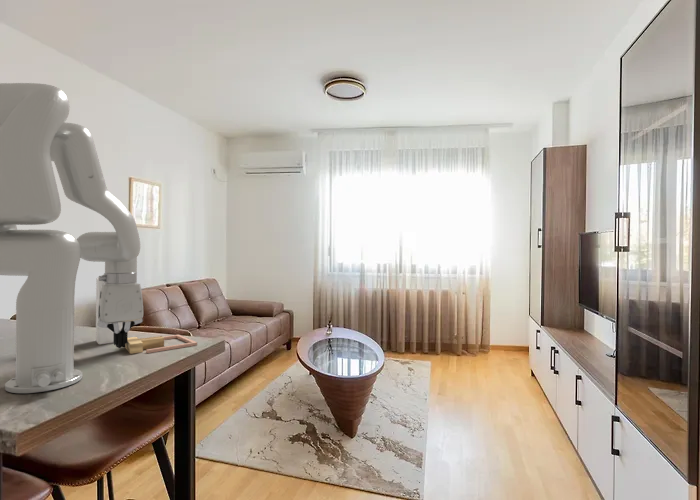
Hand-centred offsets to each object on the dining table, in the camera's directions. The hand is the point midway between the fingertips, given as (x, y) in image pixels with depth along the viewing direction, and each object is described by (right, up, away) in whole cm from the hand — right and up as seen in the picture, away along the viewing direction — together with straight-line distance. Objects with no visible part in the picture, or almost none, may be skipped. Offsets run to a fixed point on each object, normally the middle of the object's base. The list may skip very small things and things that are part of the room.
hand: (120, 346), depth 107 cm
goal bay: (+8, -1, +7) cm, 11 cm away
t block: (+5, -1, +4) cm, 6 cm away
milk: (-10, -1, +11) cm, 15 cm away
